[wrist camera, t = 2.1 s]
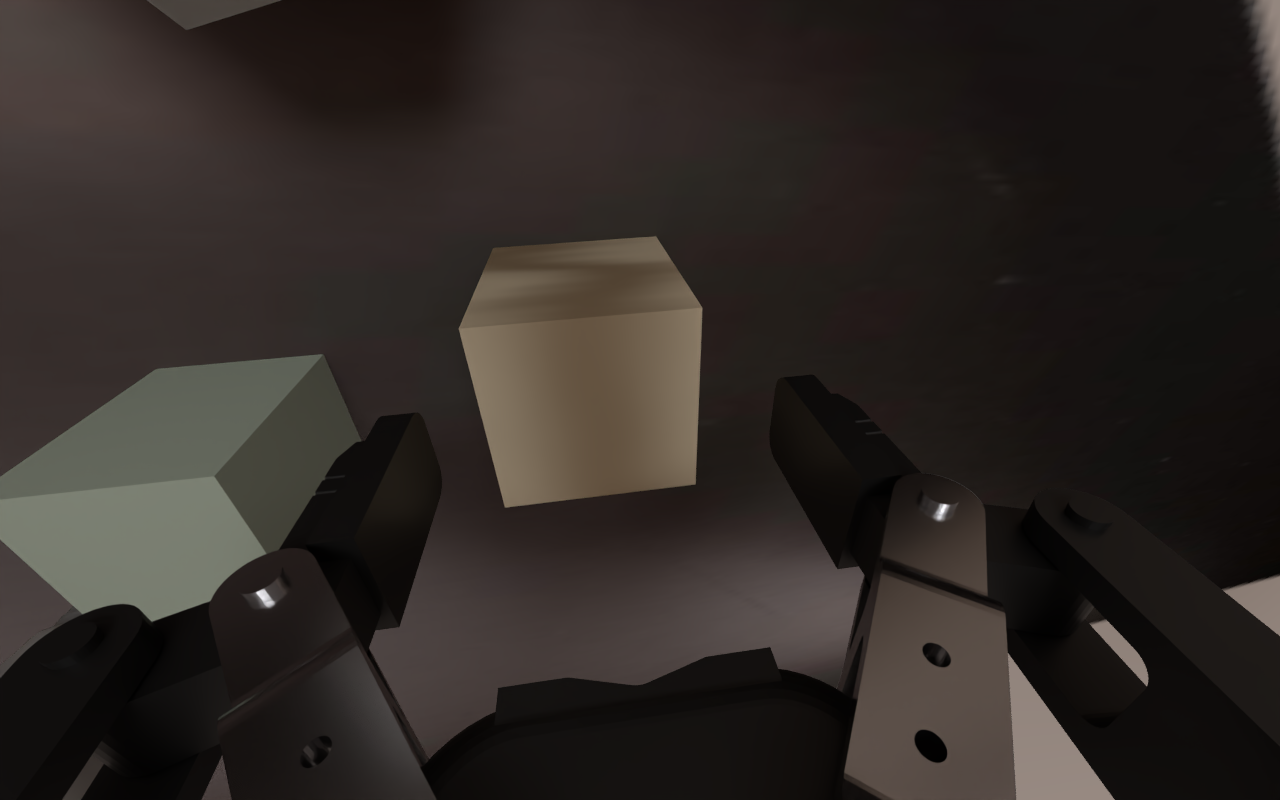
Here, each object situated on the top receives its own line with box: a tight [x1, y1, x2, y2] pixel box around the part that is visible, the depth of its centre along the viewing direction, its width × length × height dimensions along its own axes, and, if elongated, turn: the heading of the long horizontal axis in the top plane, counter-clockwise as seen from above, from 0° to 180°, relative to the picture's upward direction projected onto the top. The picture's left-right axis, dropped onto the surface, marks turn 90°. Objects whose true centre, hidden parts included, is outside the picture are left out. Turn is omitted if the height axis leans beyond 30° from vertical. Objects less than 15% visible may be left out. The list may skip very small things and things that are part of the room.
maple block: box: [459, 237, 702, 508], centre depth 14 cm, size 5×5×6 cm
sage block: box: [0, 354, 361, 621], centre depth 14 cm, size 5×5×6 cm
